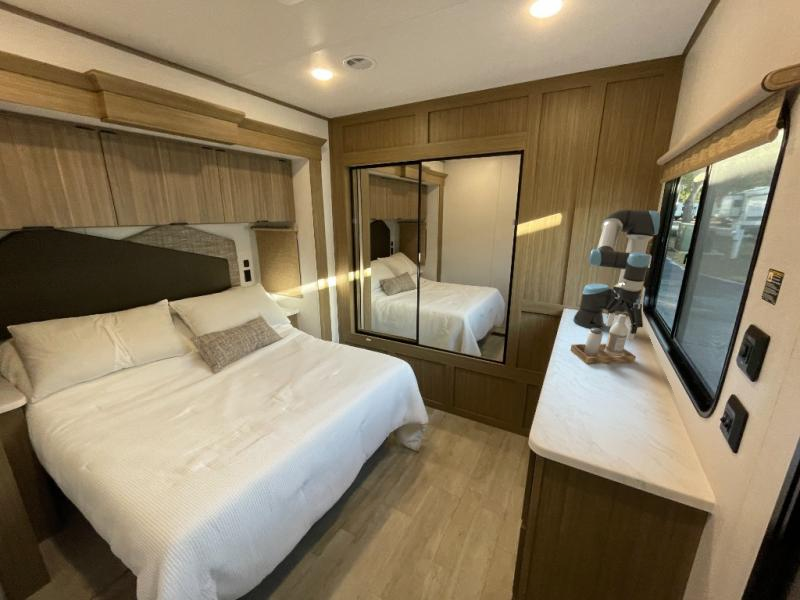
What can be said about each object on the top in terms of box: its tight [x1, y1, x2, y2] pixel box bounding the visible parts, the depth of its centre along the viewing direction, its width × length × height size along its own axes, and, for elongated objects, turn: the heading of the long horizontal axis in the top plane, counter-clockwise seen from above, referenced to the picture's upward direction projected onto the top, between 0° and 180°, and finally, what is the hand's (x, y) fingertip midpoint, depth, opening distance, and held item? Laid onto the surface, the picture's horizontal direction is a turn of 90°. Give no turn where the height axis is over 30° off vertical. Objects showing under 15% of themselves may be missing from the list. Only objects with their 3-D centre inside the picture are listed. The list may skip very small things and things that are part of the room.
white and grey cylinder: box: [584, 328, 604, 357], centre depth 150 cm, size 6×6×13 cm
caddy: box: [570, 343, 637, 365], centre depth 152 cm, size 23×13×3 cm, turn 94°
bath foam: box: [604, 313, 629, 356], centre depth 150 cm, size 7×7×20 cm
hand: (618, 332), depth 149 cm, fingers open, 13 cm apart
